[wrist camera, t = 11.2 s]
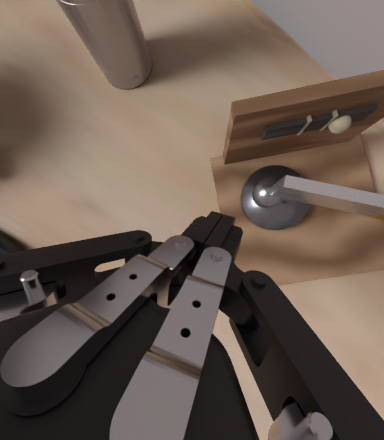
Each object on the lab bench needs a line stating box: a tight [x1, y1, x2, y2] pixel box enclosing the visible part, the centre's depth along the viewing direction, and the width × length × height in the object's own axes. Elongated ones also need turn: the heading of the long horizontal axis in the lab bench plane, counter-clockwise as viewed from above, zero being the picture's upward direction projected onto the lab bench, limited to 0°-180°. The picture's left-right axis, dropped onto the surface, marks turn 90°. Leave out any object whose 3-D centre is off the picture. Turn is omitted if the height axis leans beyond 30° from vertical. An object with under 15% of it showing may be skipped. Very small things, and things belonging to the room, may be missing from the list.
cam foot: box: [240, 165, 384, 230], centre depth 28 cm, size 20×10×10 cm, turn 76°
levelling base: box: [211, 70, 384, 285], centre depth 27 cm, size 22×24×16 cm
